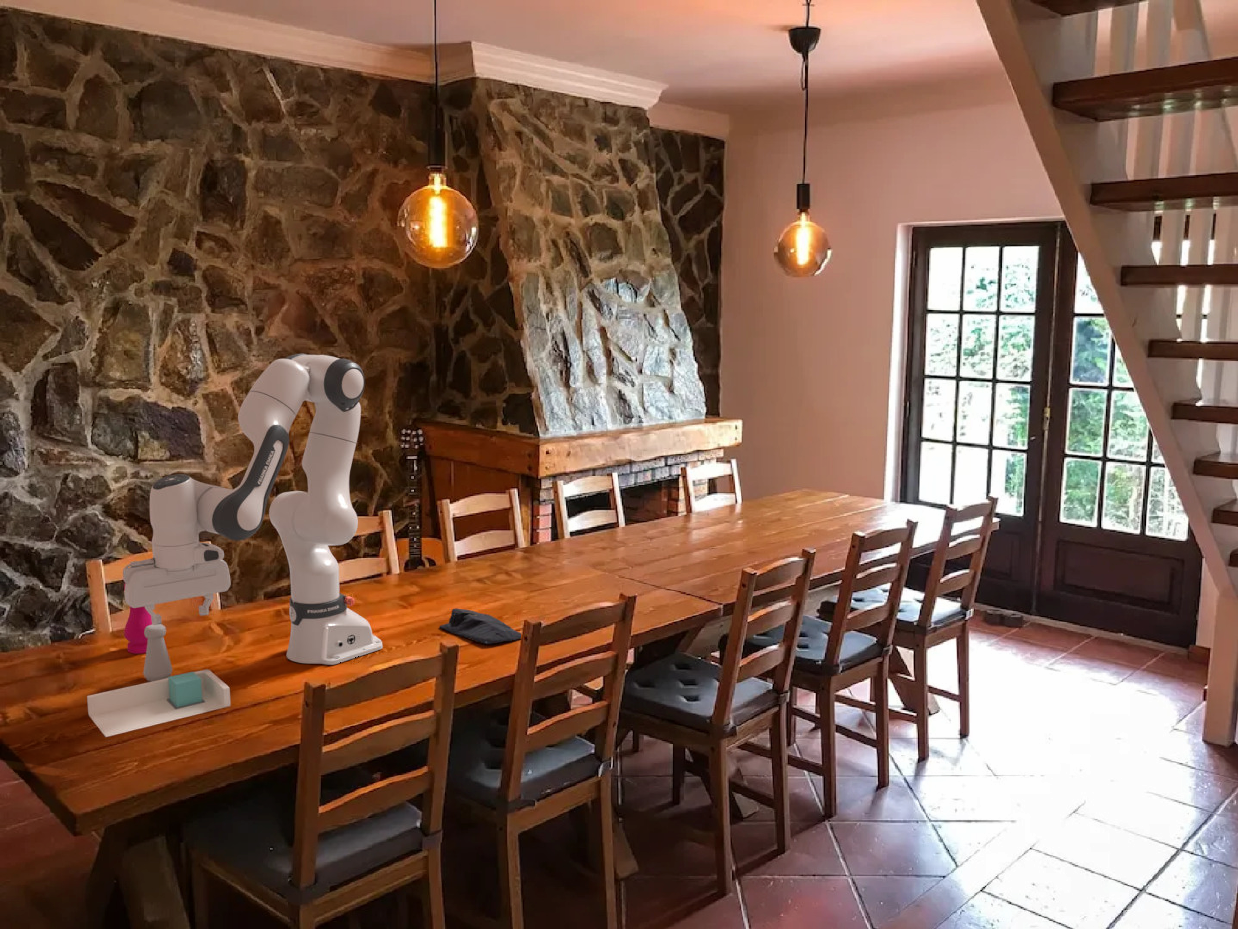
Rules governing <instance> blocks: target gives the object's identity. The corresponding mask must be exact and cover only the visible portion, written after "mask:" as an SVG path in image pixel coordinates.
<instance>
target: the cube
mask: <svg viewBox="0 0 1238 929" xmlns="http://www.w3.org/2000/svg"><path fill="white" fill-rule="evenodd" d="M194 672H195V671H190V672H185V673H180V674H175V675H170V677H168V679H169V696H170V700H171V701H172V702H173V703H174V704H175V705H176V706H177V707H180V706H185V705H189V704H193V703H197V702H201V701H202V690H201V678H200V677H198V676H197V675H196V674H195V673H194Z"/></svg>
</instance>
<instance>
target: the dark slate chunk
mask: <svg viewBox="0 0 1238 929" xmlns="http://www.w3.org/2000/svg"><path fill="white" fill-rule="evenodd" d="M439 629H441V630H445V631H448V632H449V633H451V634H453V633H455V634H457V635H456V636H458V635H459V636H458V637H463V636H464V637H463V638H466V639H467V638H470V639H473V640H475V641H474V642H476V641H477V642H476V643H478V642H482V643H484V644H483V645H487V644H490V645H493V643H494V644H498V643H504V642H503V641H508V642H512V640H515V641H518V640H517V639H520V638H521V632H519V631H517V630H515V629H513V628H512V627H511V626H510V625H508V624H506V623H505V622H503V621H501V620H500V619H497V618H496V617H494V616H492V615H489V614H486V613H481V612H477V611H473V610H470V609H466V608H465V609H461V608H458V607H457V608H453V609H452V610H451V615H450V618H449V619H448V622H447V623H445V624H441V625H439ZM455 634H454V635H455ZM470 639H469V640H470ZM473 640H472V641H473ZM482 643H481V644H482Z"/></svg>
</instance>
